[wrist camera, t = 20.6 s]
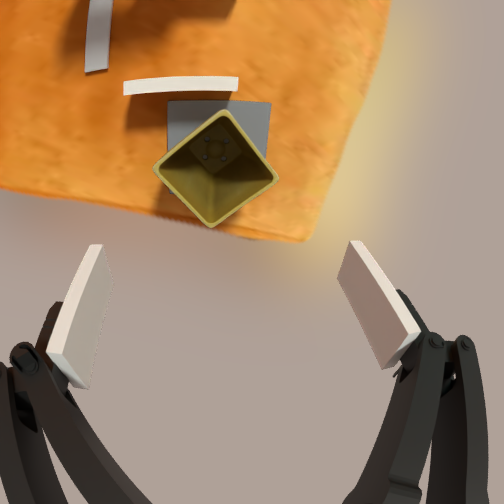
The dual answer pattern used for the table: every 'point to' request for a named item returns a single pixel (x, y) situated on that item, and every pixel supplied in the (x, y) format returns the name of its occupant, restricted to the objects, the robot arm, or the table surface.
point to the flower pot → (216, 169)
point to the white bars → (100, 60)
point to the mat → (198, 111)
